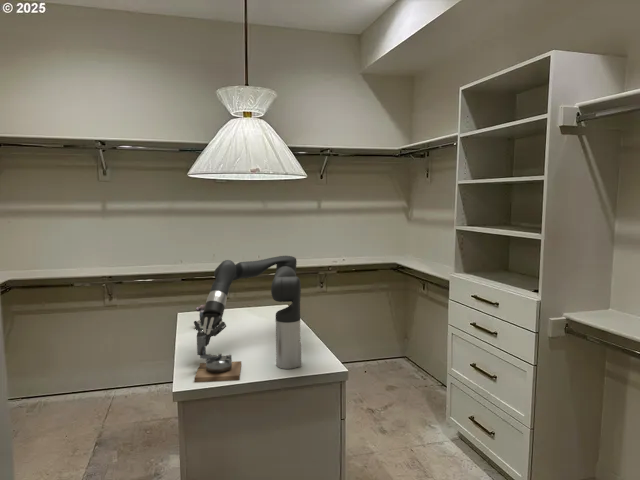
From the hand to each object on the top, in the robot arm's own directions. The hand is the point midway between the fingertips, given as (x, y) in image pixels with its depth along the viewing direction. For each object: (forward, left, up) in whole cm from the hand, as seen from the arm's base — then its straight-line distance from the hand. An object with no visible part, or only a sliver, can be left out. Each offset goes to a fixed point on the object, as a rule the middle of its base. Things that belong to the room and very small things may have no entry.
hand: (203, 345), depth 165 cm
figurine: (+7, -53, -8) cm, 54 cm away
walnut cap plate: (-6, +7, -8) cm, 12 cm away
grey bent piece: (-4, +6, -6) cm, 10 cm away
